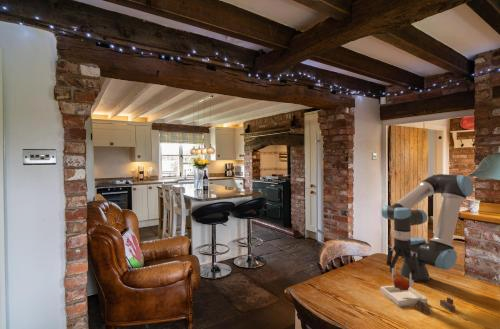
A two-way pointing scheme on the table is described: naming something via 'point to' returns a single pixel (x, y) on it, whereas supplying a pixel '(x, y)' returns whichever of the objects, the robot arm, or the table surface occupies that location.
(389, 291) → the dish
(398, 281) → the fruit
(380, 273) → the table surface
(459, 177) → the robot arm
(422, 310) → the block
